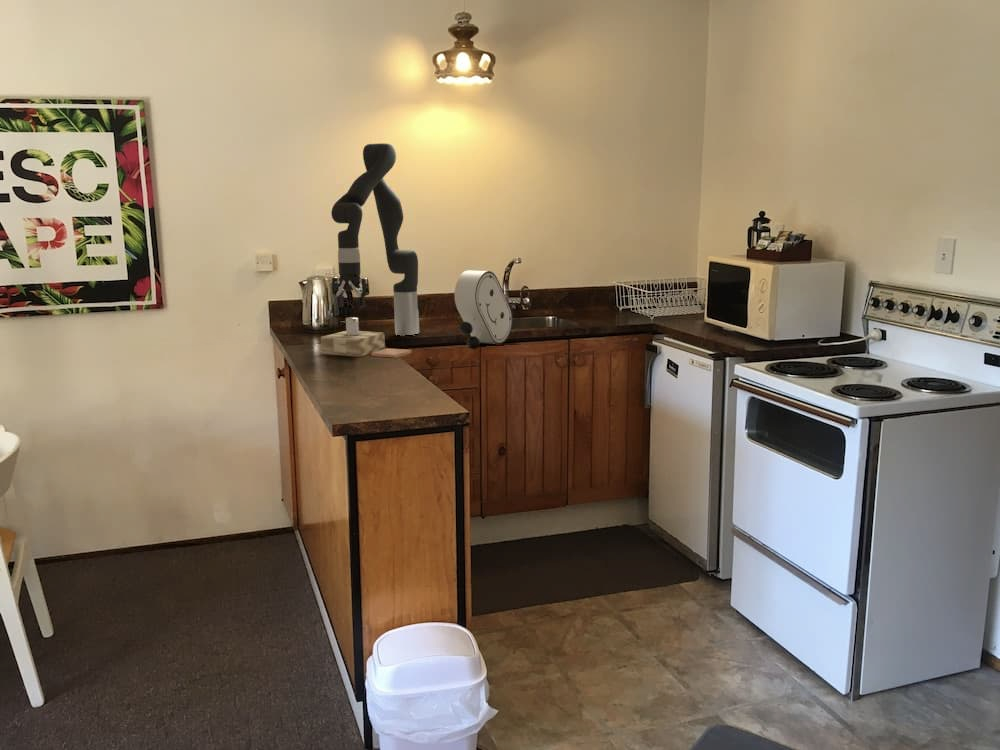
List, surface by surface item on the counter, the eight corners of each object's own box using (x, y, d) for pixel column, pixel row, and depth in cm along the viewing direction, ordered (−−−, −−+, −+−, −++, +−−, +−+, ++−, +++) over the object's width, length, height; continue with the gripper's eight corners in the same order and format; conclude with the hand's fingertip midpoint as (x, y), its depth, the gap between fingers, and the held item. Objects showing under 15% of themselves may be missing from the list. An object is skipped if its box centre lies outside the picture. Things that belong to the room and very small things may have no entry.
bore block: (348, 346, 319) (347, 330, 318) (385, 349, 312) (384, 332, 311) (321, 353, 305) (320, 336, 304) (359, 356, 298) (358, 339, 297)
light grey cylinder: (352, 347, 311) (350, 316, 309) (362, 348, 309) (360, 317, 307) (344, 349, 307) (343, 318, 305) (355, 350, 306) (353, 319, 303)
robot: (460, 309, 294) (489, 261, 306) (439, 308, 298) (469, 261, 311) (490, 368, 314) (516, 321, 327) (470, 366, 318) (497, 319, 331)
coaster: (387, 351, 308) (387, 348, 308) (411, 352, 304) (411, 350, 304) (371, 355, 300) (371, 353, 299) (396, 357, 295) (395, 354, 295)
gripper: (372, 260, 302) (374, 306, 306) (338, 260, 308) (341, 305, 312) (359, 262, 296) (361, 309, 299) (326, 261, 302) (328, 307, 305)
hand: (351, 307), depth 305 cm, fingers open, 8 cm apart
